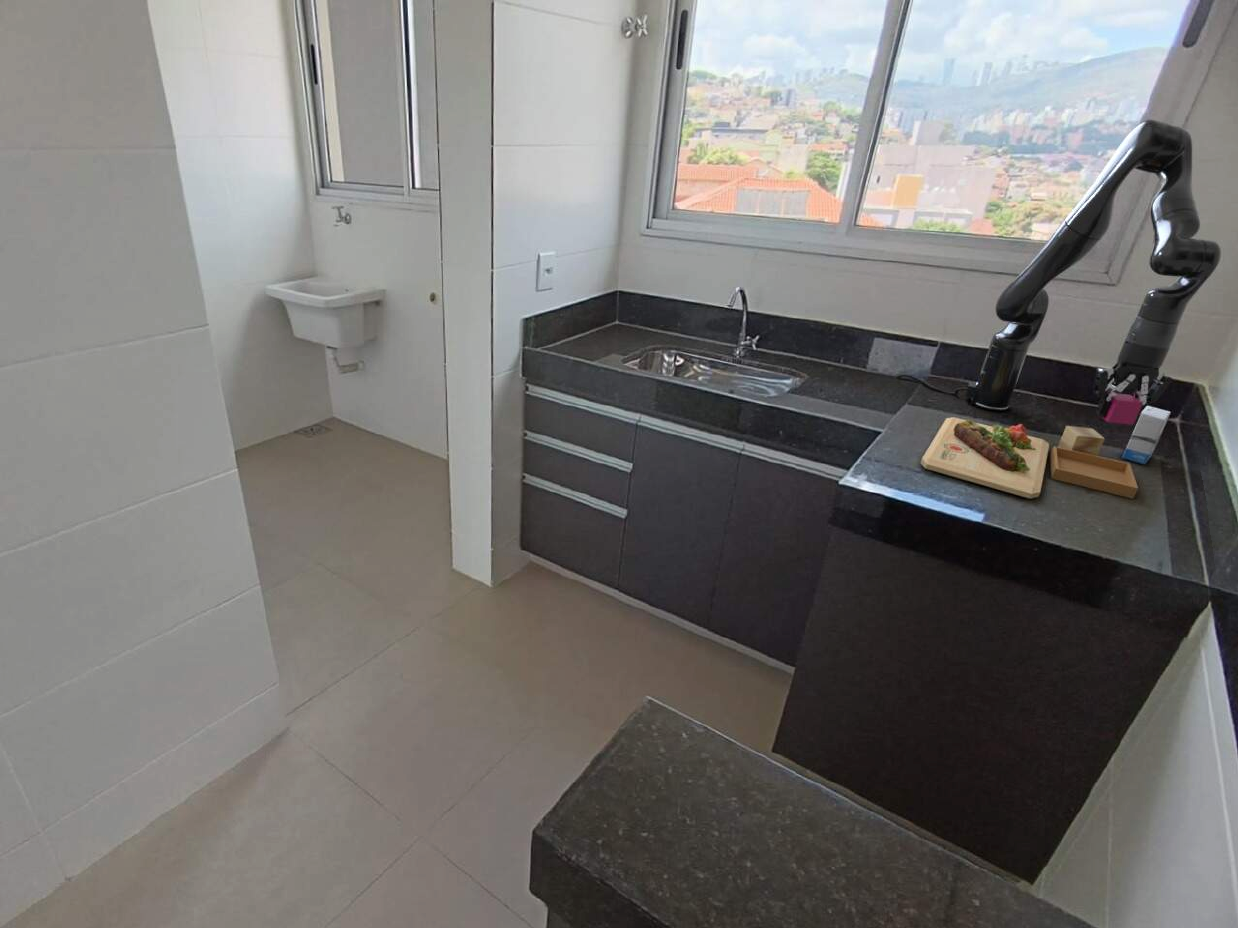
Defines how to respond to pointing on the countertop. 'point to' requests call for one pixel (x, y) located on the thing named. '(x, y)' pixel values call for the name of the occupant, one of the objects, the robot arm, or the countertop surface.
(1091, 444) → the base block
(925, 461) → the cutting board
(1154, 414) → the ink box
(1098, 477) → the tray
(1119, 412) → the pink block
